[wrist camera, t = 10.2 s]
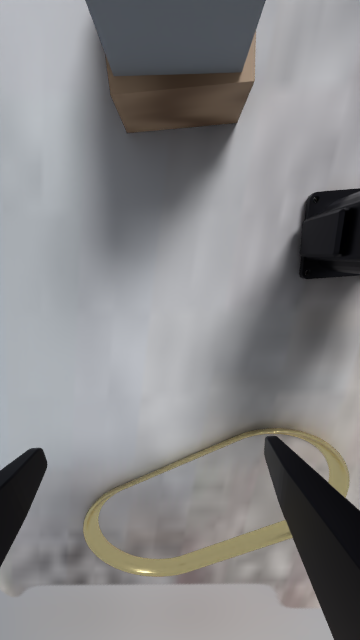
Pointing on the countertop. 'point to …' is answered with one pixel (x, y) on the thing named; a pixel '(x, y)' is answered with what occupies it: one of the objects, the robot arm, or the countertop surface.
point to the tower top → (175, 35)
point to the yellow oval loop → (216, 551)
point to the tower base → (181, 98)
